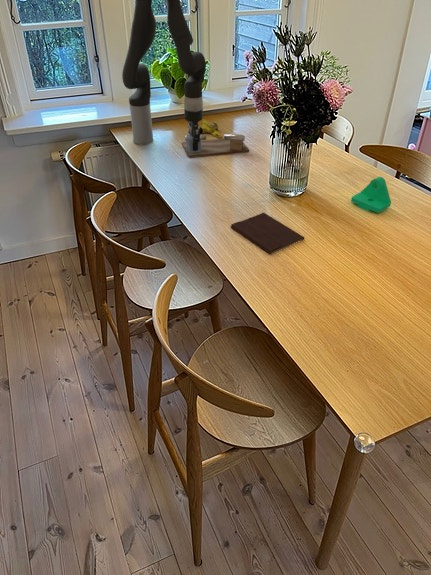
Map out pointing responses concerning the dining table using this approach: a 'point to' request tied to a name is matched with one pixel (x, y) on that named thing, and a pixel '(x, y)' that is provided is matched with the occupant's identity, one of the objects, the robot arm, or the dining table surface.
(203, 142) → the base board
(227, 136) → the shaft
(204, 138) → the shaft
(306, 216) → the dining table surface
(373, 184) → the green triangle
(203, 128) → the sprinkler
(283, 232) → the notebook
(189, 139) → the block
